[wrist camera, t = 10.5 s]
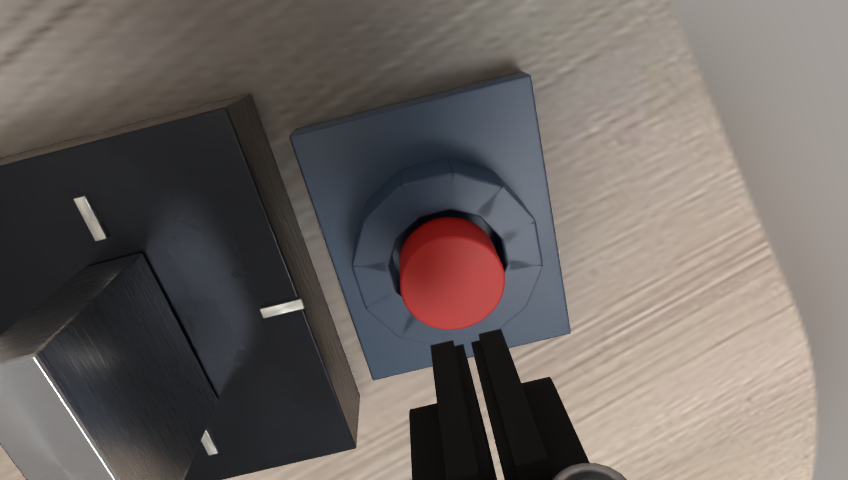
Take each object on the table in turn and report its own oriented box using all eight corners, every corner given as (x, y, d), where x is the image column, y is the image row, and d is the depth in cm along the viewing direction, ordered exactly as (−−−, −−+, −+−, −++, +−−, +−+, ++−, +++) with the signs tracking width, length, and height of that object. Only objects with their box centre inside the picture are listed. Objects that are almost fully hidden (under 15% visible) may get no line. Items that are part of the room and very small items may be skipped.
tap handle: (81, 267, 17) (-62, 384, 11) (142, 251, 17) (27, 361, 11) (165, 414, 19) (79, 569, 14) (219, 401, 19) (153, 550, 14)
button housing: (294, 129, 18) (277, 149, 16) (522, 70, 18) (546, 80, 15) (373, 363, 22) (371, 412, 20) (562, 318, 22) (587, 361, 19)
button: (388, 229, 17) (387, 251, 16) (485, 205, 17) (495, 225, 15) (412, 312, 18) (414, 341, 17) (502, 291, 18) (514, 317, 17)
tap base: (-34, 167, 18) (-115, 195, 15) (254, 92, 18) (227, 106, 15) (135, 450, 23) (99, 512, 20) (362, 396, 23) (359, 451, 20)
